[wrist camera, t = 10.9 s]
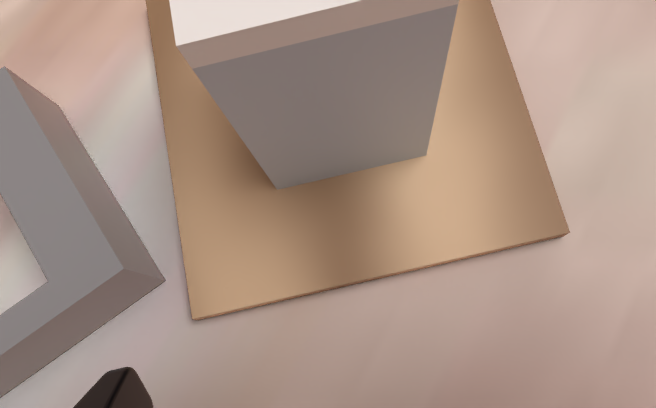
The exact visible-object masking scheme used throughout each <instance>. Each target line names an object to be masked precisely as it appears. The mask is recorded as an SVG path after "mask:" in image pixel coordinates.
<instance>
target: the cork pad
mask: <svg viewBox="0 0 656 408" xmlns="http://www.w3.org/2000/svg"><path fill="white" fill-rule="evenodd" d="M146 6H147V12H148V19H149V26H150V33H151V40H152V47H153V54H154V60H155V67H156V74H157V81H158V88H159V95H160V102H161V108H162V115H163V122H164V129H165V136H166V143H167V150H168V157H169V163H170V170H171V177H172V184H173V191H174V198H175V205H176V211H177V218H178V225H179V232H180V239H181V246H182V253H183V259H184V266H185V273H186V280H187V287H188V294H189V301H190V307H191V314H192V319H194V320H201V319H205V318H210V317H214V316H218V315H223V314H227V313H231V312H236V311H240V310H244V309H249V308H253V307H258V306H262V305H266V304H271V303H275V302H279V301H284V300H288V299H292V298H297V297H301V296H305V295H310V294H314V293H318V292H323V291H327V290H331V289H336V288H340V287H345V286H349V285H353V284H358V283H362V282H366V281H371V280H375V279H379V278H384V277H388V276H392V275H397V274H401V273H405V272H410V271H414V270H419V269H423V268H427V267H432V266H436V265H440V264H445V263H449V262H453V261H458V260H462V259H466V258H471V257H475V256H479V255H484V254H488V253H493V252H497V251H501V250H506V249H510V248H514V247H519V246H523V245H527V244H532V243H536V242H540V241H545V240H549V239H553V238H558V237H562V236H565V235H566V234H568V233H570V231H569V228H568V225H567V223H566V220H565V217H564V214H563V211H562V208H561V205H560V202H559V199H558V196H557V193H556V191H555V188H554V185H553V182H552V179H551V176H550V173H549V170H548V167H547V164H546V161H545V159H544V156H543V153H542V150H541V147H540V144H539V141H538V138H537V135H536V132H535V129H534V126H533V124H532V121H531V118H530V115H529V112H528V109H527V106H526V103H525V100H524V97H523V94H522V92H521V89H520V86H519V83H518V80H517V77H516V74H515V71H514V68H513V65H512V62H511V60H510V57H509V54H508V51H507V48H506V45H505V42H504V39H503V36H502V33H501V30H500V27H499V25H498V22H497V19H496V16H495V13H494V10H493V7H492V4H491V1H490V0H459V3H458V8H457V12H456V17H455V22H454V27H453V31H452V36H451V41H450V46H449V50H448V55H447V60H446V65H445V69H444V74H443V79H442V84H441V88H440V93H439V98H438V102H437V107H436V112H435V117H434V121H433V126H432V131H431V136H430V140H429V145H428V150H427V155H426V156H421V157H417V158H413V159H408V160H404V161H400V162H395V163H391V164H387V165H382V166H378V167H374V168H369V169H365V170H361V171H356V172H352V173H348V174H343V175H339V176H335V177H330V178H326V179H322V180H317V181H313V182H309V183H304V184H300V185H296V186H291V187H287V188H283V189H278V190H277V189H276V187H275V186H274V184H273V183H272V182H271V180H270V179H269V177H268V176H267V175H266V173H265V172H264V170H263V169H262V167H261V166H260V165H259V163H258V162H257V160H256V159H255V157H254V156H253V155H252V153H251V152H250V150H249V149H248V148H247V146H246V145H245V143H244V142H243V140H242V139H241V138H240V136H239V135H238V133H237V132H236V131H235V129H234V128H233V126H232V125H231V123H230V122H229V121H228V119H227V118H226V116H225V115H224V113H223V112H222V111H221V109H220V108H219V106H218V105H217V104H216V102H215V101H214V99H213V98H212V96H211V95H210V94H209V92H208V91H207V89H206V88H205V86H204V85H203V84H202V82H201V81H200V79H199V78H198V77H197V75H196V74H195V72H194V71H193V69H192V68H191V67H190V65H189V64H188V62H187V61H186V59H185V58H184V57H183V55H182V54H181V52H180V51H179V50H178V48H177V47H176V43H175V36H174V29H173V22H172V16H171V9H170V2H169V0H146Z"/></svg>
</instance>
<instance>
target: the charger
mask: <svg viewBox="0 0 656 408" xmlns="http://www.w3.org/2000/svg"><path fill="white" fill-rule="evenodd" d="M169 2H170V9H171V16H172V22H173V29H174V36H175V43H176V47H177V48H178V50H179V51H180V52H181V54H182V55H183V57H184V58H185V59H186V61H187V62H188V64H189V65H190V67H191V68H192V69H193V71H194V72H195V74H196V75H197V77H198V78H199V79H200V81H201V82H202V84H203V85H204V86H205V88H206V89H207V91H208V92H209V94H210V95H211V96H212V98H213V99H214V101H215V102H216V104H217V105H218V106H219V108H220V109H221V111H222V112H223V113H224V115H225V116H226V118H227V119H228V121H229V122H230V123H231V125H232V126H233V128H234V129H235V131H236V132H237V133H238V135H239V136H240V138H241V139H242V140H243V142H244V143H245V145H246V146H247V148H248V149H249V150H250V152H251V153H252V155H253V156H254V157H255V159H256V160H257V162H258V163H259V165H260V166H261V167H262V169H263V170H264V172H265V173H266V175H267V176H268V177H269V179H270V180H271V182H272V183H273V184H274V186H275V187H276V189H277V190H278V189H283V188H287V187H291V186H296V185H300V184H304V183H309V182H313V181H317V180H322V179H326V178H330V177H335V176H339V175H343V174H348V173H352V172H356V171H361V170H365V169H369V168H374V167H378V166H382V165H387V164H391V163H395V162H400V161H404V160H408V159H413V158H417V157H421V156H426V155H427V150H428V145H429V140H430V136H431V131H432V126H433V121H434V117H435V112H436V107H437V102H438V98H439V93H440V88H441V84H442V79H443V74H444V69H445V65H446V60H447V55H448V50H449V46H450V41H451V36H452V31H453V27H454V22H455V17H456V12H457V8H458V3H459V0H169Z"/></svg>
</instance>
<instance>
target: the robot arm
mask: <svg viewBox="0 0 656 408" xmlns="http://www.w3.org/2000/svg"><path fill="white" fill-rule="evenodd" d="M73 408H153V403H152V400H151V397H150V395H149V394H148V392H147V390H146V388H145V387H144V385H143V383H142V381H141V380H140V378H139V376H138V374H137V373H136V371H135V370H134V369H133V368H131V367H124V368H120V369H116V370H111V371H109V372H107V373H105V374H104V375H103V376H102V377H101V378H100V379H99V381H98V382H97V383H96V384H95V385H94V386H93V387H92V388H91V389H90V390H89V391H88V392H87V393H86V395H85V396H84V397H83V398H82V399H81V400H80V401H79V402H78V403H77V404H76V405H75V406H74V407H73Z"/></svg>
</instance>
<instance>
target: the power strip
mask: <svg viewBox="0 0 656 408" xmlns="http://www.w3.org/2000/svg"><path fill="white" fill-rule="evenodd" d="M0 193H1V195H2V197H3V199H4V201H5V203H6V205H7V206H8V208H9V210H10V212H11V214H12V216H13V217H14V219H15V221H16V223H17V225H18V227H19V229H20V230H21V232H22V234H23V236H24V238H25V240H26V241H27V243H28V245H29V247H30V249H31V251H32V253H33V254H34V256H35V258H36V260H37V262H38V264H39V265H40V267H41V269H42V271H43V273H44V275H45V277H46V278H47V280H48V282H47V283H45V284H44V285H43V286H41V287H40V288H38V289H37V290H35V291H34V292H32V293H31V294H30V295H28V296H27V297H25V298H24V299H22V300H21V301H20V302H18V303H17V304H15V305H14V306H12V307H11V308H10V309H8V310H7V311H5V312H4V313H2V314H1V315H0V398H1V397H2V396H3V395H5V394H6V393H8V392H9V391H10V390H12V389H13V388H15V387H16V386H17V385H19V384H20V383H22V382H23V381H25V380H26V379H27V378H29V377H30V376H32V375H33V374H34V373H36V372H37V371H39V370H40V369H41V368H43V367H44V366H46V365H47V364H49V363H50V362H51V361H53V360H54V359H56V358H57V357H58V356H60V355H61V354H63V353H64V352H65V351H67V350H68V349H70V348H71V347H73V346H74V345H75V344H77V343H78V342H80V341H81V340H82V339H84V338H85V337H87V336H88V335H89V334H91V333H92V332H94V331H95V330H97V329H98V328H99V327H101V326H102V325H104V324H105V323H106V322H108V321H109V320H111V319H112V318H113V317H115V316H116V315H118V314H119V313H121V312H122V311H123V310H125V309H126V308H128V307H129V306H130V305H132V304H133V303H135V302H136V301H137V300H139V299H140V298H142V297H143V296H145V295H146V294H147V293H149V292H150V291H152V290H153V289H154V288H156V287H157V286H159V285H160V284H161V283H163V282H164V281H165V279H164V277H163V276H162V274H161V272H160V271H159V269H158V268H157V266H156V264H155V263H154V261H153V259H152V258H151V256H150V254H149V253H148V251H147V250H146V248H145V246H144V245H143V243H142V241H141V240H140V238H139V236H138V235H137V233H136V232H135V230H134V228H133V227H132V225H131V223H130V222H129V220H128V218H127V217H126V215H125V214H124V212H123V210H122V209H121V207H120V205H119V204H118V202H117V200H116V199H115V197H114V196H113V194H112V192H111V191H110V189H109V187H108V186H107V184H106V182H105V181H104V179H103V178H102V176H101V174H100V173H99V171H98V169H97V168H96V166H95V164H94V163H93V161H92V159H91V158H90V156H89V155H88V153H87V151H86V150H85V148H84V146H83V145H82V143H81V141H80V140H79V138H78V137H77V135H76V133H75V132H74V130H73V128H72V127H71V125H70V123H69V122H68V120H67V119H66V117H65V115H64V114H63V112H62V110H61V109H60V107H59V106H58V105H57V104H56V103H54V102H53V101H51V100H50V99H49V98H47V97H46V96H45V95H43V94H42V93H40V92H39V91H38V90H36V89H35V88H34V87H32V86H31V85H29V84H28V83H27V82H25V81H24V80H23V79H21V78H20V77H18V76H17V75H16V74H14V73H13V72H12V71H10V70H9V69H8V68H6V67H5V66H4V67H3V68H1V69H0Z"/></svg>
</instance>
